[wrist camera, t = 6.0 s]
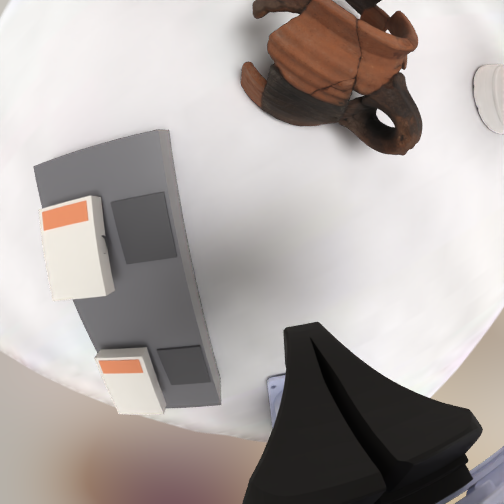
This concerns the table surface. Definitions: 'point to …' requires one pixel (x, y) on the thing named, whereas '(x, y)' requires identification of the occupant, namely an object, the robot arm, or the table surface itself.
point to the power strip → (141, 261)
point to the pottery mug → (339, 71)
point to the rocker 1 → (76, 249)
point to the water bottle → (490, 96)
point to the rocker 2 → (131, 381)
